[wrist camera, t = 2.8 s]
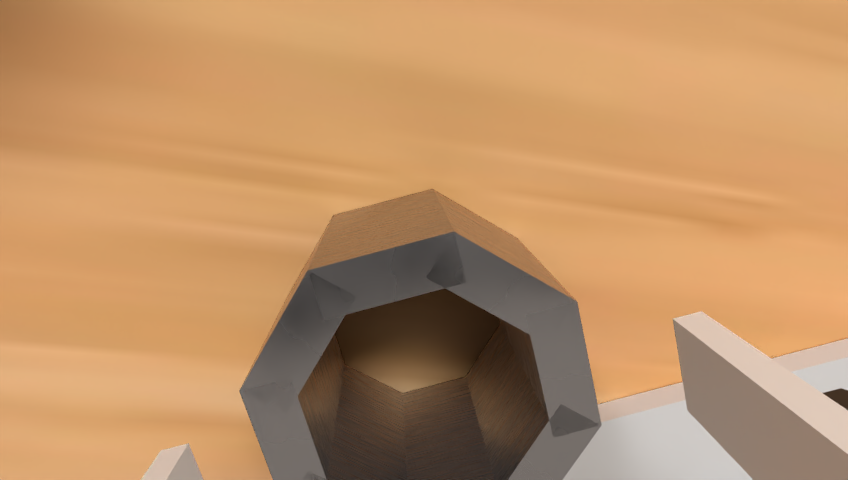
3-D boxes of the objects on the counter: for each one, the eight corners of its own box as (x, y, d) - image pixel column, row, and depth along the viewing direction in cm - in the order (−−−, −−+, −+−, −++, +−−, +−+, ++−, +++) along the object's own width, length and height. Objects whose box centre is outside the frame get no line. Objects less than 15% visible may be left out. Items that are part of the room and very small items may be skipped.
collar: (334, 443, 23) (313, 584, 16) (263, 234, 21) (204, 297, 14) (550, 386, 23) (617, 504, 16) (502, 170, 21) (557, 204, 14)
